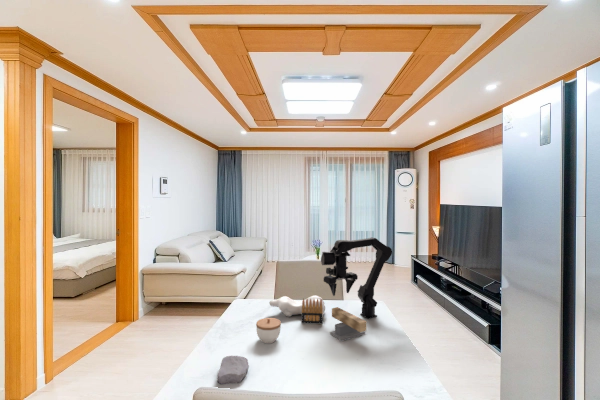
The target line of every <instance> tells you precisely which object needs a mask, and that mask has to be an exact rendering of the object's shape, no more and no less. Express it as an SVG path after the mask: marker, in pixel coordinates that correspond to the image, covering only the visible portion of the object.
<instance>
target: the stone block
mask: <svg viewBox="0 0 600 400" xmlns="http://www.w3.org/2000/svg"><path fill="white" fill-rule="evenodd" d="M249 367H250V365H249V360H248V358H246V357H245V356H239V355H228V356H224V357H223V358H222V359H221V362H220V366H219V370H218V371H217V383H218V384H220V385H223V384H224V385H226V384H240V382H241V381H243V379H244V377H246V374H247V371H248V369H249Z"/></svg>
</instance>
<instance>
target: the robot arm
mask: <svg viewBox="0 0 600 400" xmlns="http://www.w3.org/2000/svg"><path fill="white" fill-rule="evenodd" d="M364 247H372V248H373V249H374V250H376V251H375V261H374V262H373V265H372V268H371V270H370V272H369V274H368V277H367V279H366V281H365V283H364V284H363V285H361V284H360V286H359V288H358V290H357V298H358V299H359V300H360V302H361V303H362V304H361V305H362V307H361V313H359V315H360V316H362V317H364V318H367V319H373V318H376V317H377V316H378V315H377V314H376V307H377V305H378V302H377V301H376V300H375V299H374V295H375V286H376V284H377V281H378V280H379V276H380V274H381V273H382V269H383V267H384V265H385V264H386V262H388V261H389V259H390V258H391V256H392V255H393V249H392V248H391V247H390V246H388V245H385V244H384V243H383V242H381V241H380V240H379V239H377V238H376V237H368V238H360V239H353V240H348V239H338V240H336V241H335V242H334V244H333V247H332V248H331V249H330V251H322V254H321V257H320V263H321V265H322V266H333V265H334V266H333V268H331V267H326V268H325V274H326V275H324V277H323V282H324V283H326V284H327V285H328V286H329V288H330V291H331V294H332V296H333V297H335V296H336V292H337V290H336V289H337V281H341V280H345V282H346V283H345V286H346V287H345V288H346V293H347V294H349V293H350V290H351V289H352V287H353V285H354V284H355V282H356V281H357V280H358V276H359V275H357V273H355V272H347V270H348V269H349V266H347V262H348V261H347V257H351V254H350V253H349V252H350V251H351V250H353V249H358V248H364Z"/></svg>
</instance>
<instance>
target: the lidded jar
mask: <svg viewBox="0 0 600 400" xmlns="http://www.w3.org/2000/svg"><path fill="white" fill-rule="evenodd" d="M255 325H256V326H255V327H256V335H257V337H258V339H259V340H260V341H261V342H262V343H264V344H273V343H274V342H275V341H276V340H277V339H278V337H279V336H280V333H281V329H282V328H281V325H282V321H281V320H280V319H278V318H274V317H264V318H261V319H259V320H257V321H256V323H255Z"/></svg>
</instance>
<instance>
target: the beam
mask: <svg viewBox="0 0 600 400" xmlns="http://www.w3.org/2000/svg"><path fill="white" fill-rule="evenodd" d="M331 317H332V318H333V319H335V320H337V321H338V322H339V321H340V323H342V322H343V323H344V324H346V325H348V326H350V327H352V328H353V329H355V330H357V331H359V332H363V331H365V332H366V331H367V321H366V320H364V319H363V318H360V317H359V316H357V315H354V314H353V313H351V312H348V311H346V310H344V309H343V308H340V307H339V306H338V307H333V308H331Z"/></svg>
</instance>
